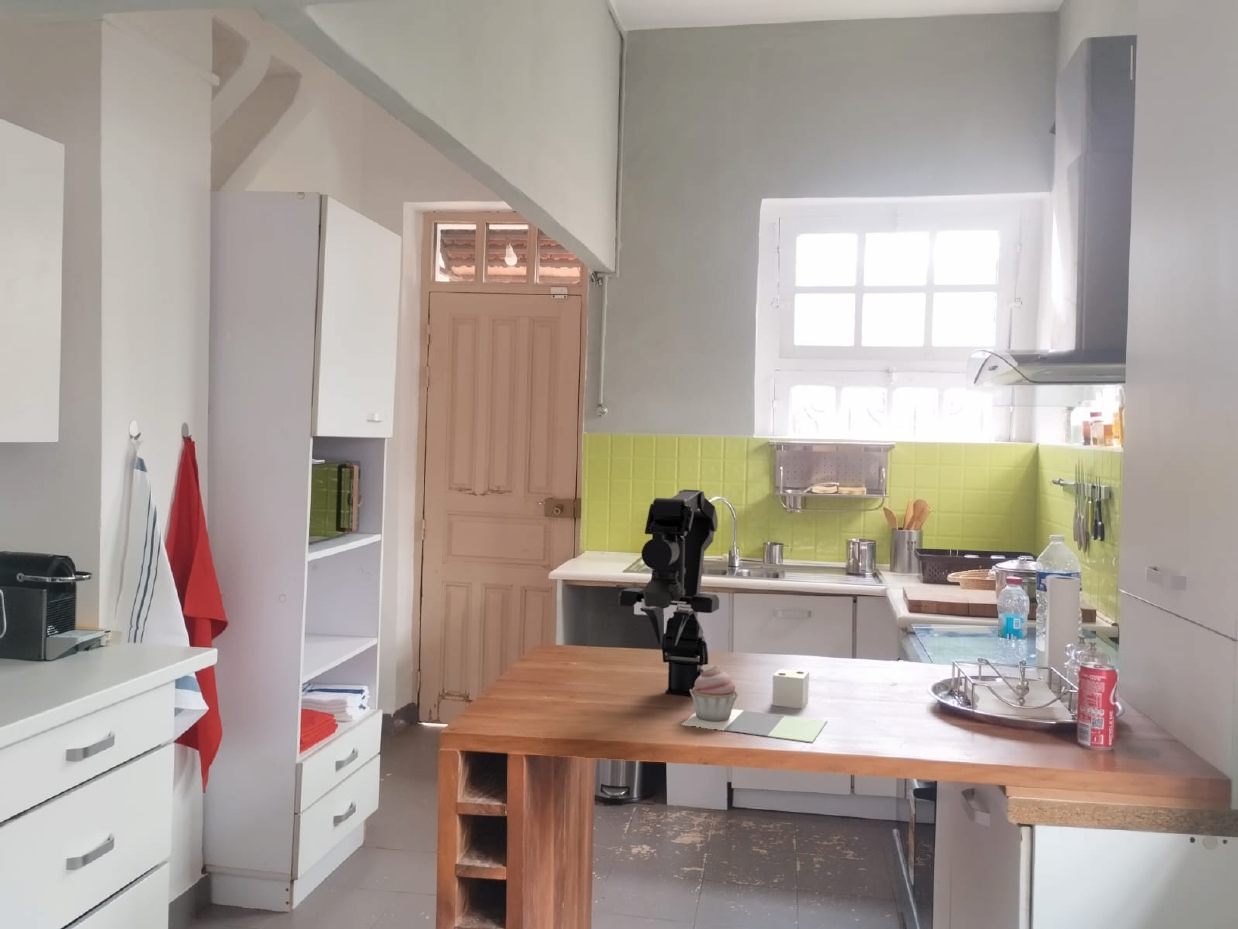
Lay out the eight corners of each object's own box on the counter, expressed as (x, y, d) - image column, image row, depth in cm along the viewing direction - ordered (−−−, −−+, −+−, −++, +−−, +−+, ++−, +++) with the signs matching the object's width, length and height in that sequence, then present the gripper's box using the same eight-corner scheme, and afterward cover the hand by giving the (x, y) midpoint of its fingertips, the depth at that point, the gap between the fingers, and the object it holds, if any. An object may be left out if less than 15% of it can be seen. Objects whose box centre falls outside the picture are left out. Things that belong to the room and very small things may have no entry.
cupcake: (736, 726, 178) (737, 671, 178) (685, 722, 180) (686, 668, 180) (740, 712, 188) (741, 660, 187) (692, 708, 189) (693, 657, 189)
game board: (681, 725, 179) (681, 724, 179) (704, 706, 192) (704, 705, 192) (812, 743, 170) (812, 741, 170) (826, 722, 183) (826, 721, 183)
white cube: (772, 705, 194) (773, 674, 194) (778, 698, 200) (779, 668, 199) (802, 709, 192) (803, 678, 192) (808, 701, 197) (809, 671, 197)
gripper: (608, 565, 183) (606, 648, 183) (703, 572, 176) (701, 658, 176) (629, 558, 193) (628, 637, 193) (720, 565, 186) (718, 646, 187)
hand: (667, 644), depth 187 cm, fingers open, 3 cm apart
